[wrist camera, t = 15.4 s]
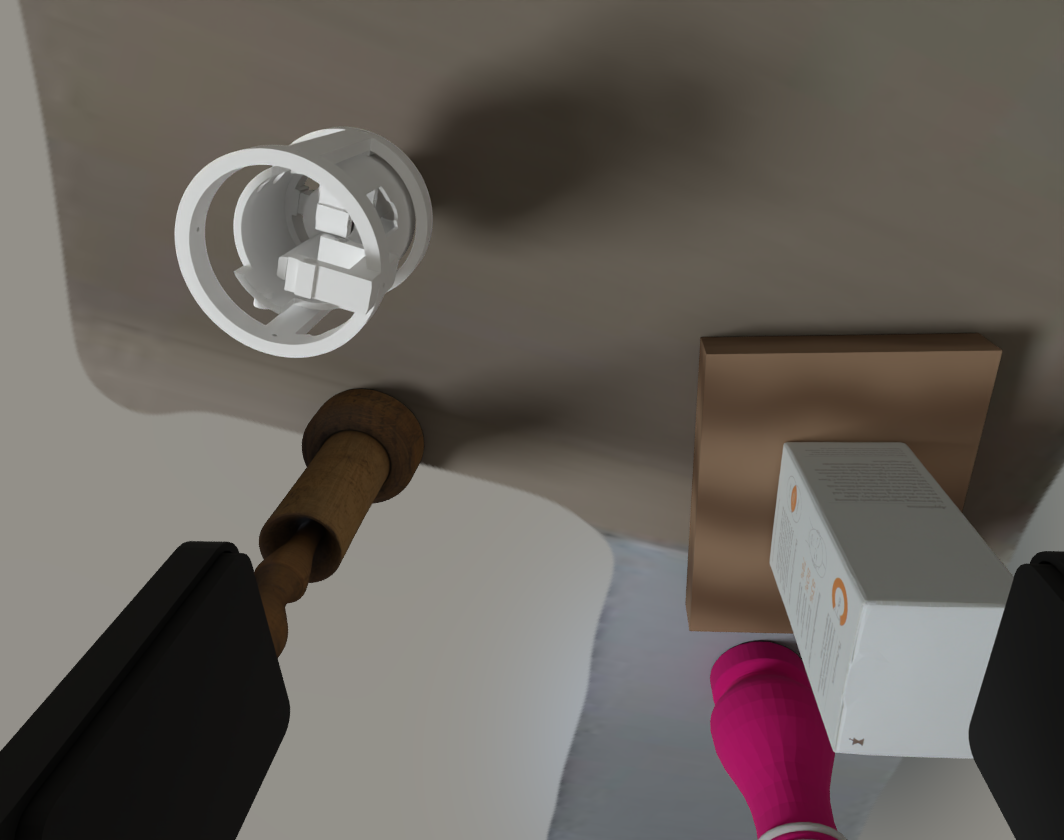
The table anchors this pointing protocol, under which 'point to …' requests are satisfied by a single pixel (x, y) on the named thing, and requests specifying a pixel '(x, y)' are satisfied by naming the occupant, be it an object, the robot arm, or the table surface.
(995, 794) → the robot arm
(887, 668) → the small box
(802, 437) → the walnut board
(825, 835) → the pepper mill
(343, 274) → the white slotted cylindrical holder
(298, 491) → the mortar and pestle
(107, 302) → the table surface
